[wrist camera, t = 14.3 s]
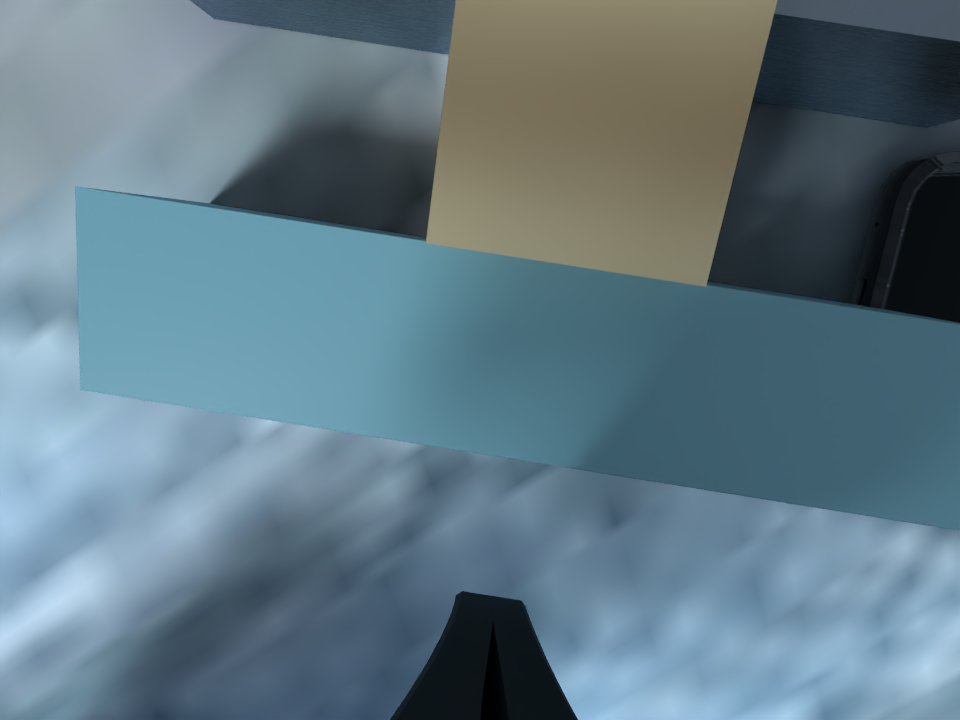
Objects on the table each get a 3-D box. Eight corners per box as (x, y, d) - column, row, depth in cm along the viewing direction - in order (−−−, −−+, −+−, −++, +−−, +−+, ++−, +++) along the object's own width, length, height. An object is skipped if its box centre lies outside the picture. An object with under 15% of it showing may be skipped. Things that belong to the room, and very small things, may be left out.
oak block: (622, 267, 14) (706, 286, 8) (457, 242, 14) (426, 243, 8) (660, 87, 13) (785, -36, 7) (482, 60, 13) (466, -84, 7)
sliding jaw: (824, 444, 15) (958, 530, 10) (203, 346, 15) (80, 389, 11) (869, 306, 14) (1037, 336, 10) (208, 203, 14) (75, 186, 10)
